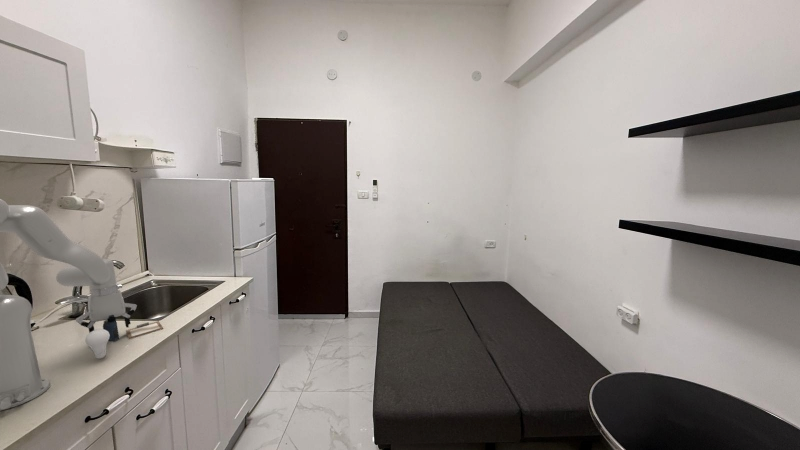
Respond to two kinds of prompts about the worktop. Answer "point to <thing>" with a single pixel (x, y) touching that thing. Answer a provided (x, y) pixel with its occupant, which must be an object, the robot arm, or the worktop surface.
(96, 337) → the lightbulb
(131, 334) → the clipboard
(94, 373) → the worktop surface
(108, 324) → the vaping device
